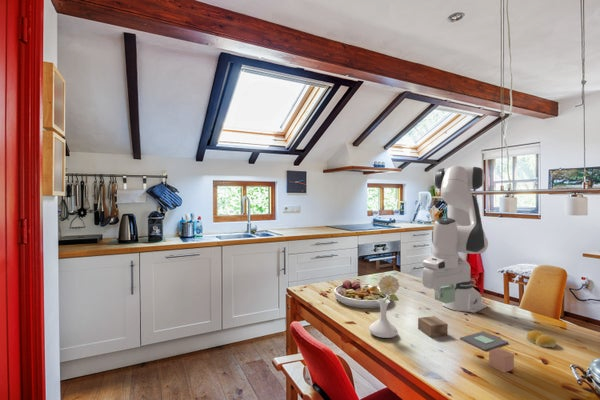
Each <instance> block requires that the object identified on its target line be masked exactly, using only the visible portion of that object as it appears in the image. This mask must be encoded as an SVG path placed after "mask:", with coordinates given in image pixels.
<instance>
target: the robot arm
mask: <svg viewBox="0 0 600 400" xmlns="http://www.w3.org/2000/svg"><path fill="white" fill-rule="evenodd" d="M485 180H486V175H485V172H484V170H483V169H482V168H481V167H478V166H473V167H471V166H461V165H452V166H449V167H447V168H444V167H442V168H439V169H437V170H436V171H435V173H434V176H433V183H434V185H435V187H436V188H437V189H439V190H440V197H441V198H442V200H443V201H444V203H446V204H447V214H446V215H447V216H446V217H439V218H437V219H435V221H434V223H433V230H432V232H431V242H432V244H433V249H432V254H431V255H430V256H428V257H427V258H426V259H424V260H423V261H422V266H424V267H423V268H422V274H421V275H422V278H421V279H422V285H423V287H425V288H427V289H430V290H431V289H433V290H434V294H435V293H436V297H437V298H442V293H440V289H441V287H442V286H449V287H452V288H455V302H451V303H447V304H445V303H443V302H441V304H442V307H445V308H447V309H450V310H453V311H458V312H459V311H460V312H468V313H469V312H470V313H473V314H474V313H477V312H480V311H482V310H484V309H485V308H488V305H487V304H486V303H485V302H483V298H482V293H480V292H479V291H478V290H476V289H475V288H474V287H473V286H474V285H476V283H477V281H476V280H475V279H471V265H470V263H469V261H467V260H465V259H463V258H462V257H461V256H460V254H459V253H463V254H472V255H475V254H477V255H479V254H483V253H485V252H486V250H487V249H488V247H489V241H488V238H487V236H486V234H485V231H484V228H483V224H482V223H483V222H482V219H481V217H482V216H481V213H480V207H479V202H478V199H477V197H476V195H474V194H472V192H476V190H478V189H480V188H482V187H483V184H484V182H485ZM472 190H473V191H472Z"/></svg>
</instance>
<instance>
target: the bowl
mask: <svg viewBox="0 0 600 400" xmlns="http://www.w3.org/2000/svg"><path fill="white" fill-rule="evenodd" d="M333 291H334V296H335V298H336V300H338V301H339V302H340V303H342V304H343V305H347V306H349V307H353V308H358V309H377V308H380V305H379V303H378V301H377V300H378V299H386V298H387V297H388V295H386V294H385V293H382V292H381V291H380V288H379V285H374V284H371V283H363V282H362V283H361V282H358V281H356V280H354V281H353V282H352V281H351V280H348V279H347V280H345V281H343V283H342V284H339V285H338V286H336V287H335V288H334V290H333ZM378 292H379V293H380V294H382V295H384V296H385V297H386V298H385V297H383V296H382V295H380V294H379V293H378ZM390 295H391V294H390ZM387 300H389V301H390V302H391V299H390V297H388V298H387Z"/></svg>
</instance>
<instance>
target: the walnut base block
mask: <svg viewBox="0 0 600 400" xmlns="http://www.w3.org/2000/svg"><path fill="white" fill-rule="evenodd" d="M448 327H449V326H448V322H445V321H443V320H442V319H440V318H439V317H437V316H435V315H433V316H425V317H418V318H417V329H418V330H419V331H420V332H422V333H423V334H425V336H427V337H428V338H431V339H432V338H439V337H446V336H448V334H449V333H448V331H449V330H448Z"/></svg>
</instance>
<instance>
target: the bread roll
mask: <svg viewBox="0 0 600 400" xmlns="http://www.w3.org/2000/svg"><path fill="white" fill-rule="evenodd" d="M525 336H526V339H527V341H529V342H530V343H532V344H534V343H535V344H536V345H537V346H538V345H540V346H539V347H541V346H543V347H542V348H547V347H552V348H551V349H553V347H554V348H556V346H557V342H556V339H555V338H554V337H553V336H550V335H548V334H545V333H543V332H541V331H539V330H534V329H533V330H531V331H529V332H527V333H526V335H525Z"/></svg>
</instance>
